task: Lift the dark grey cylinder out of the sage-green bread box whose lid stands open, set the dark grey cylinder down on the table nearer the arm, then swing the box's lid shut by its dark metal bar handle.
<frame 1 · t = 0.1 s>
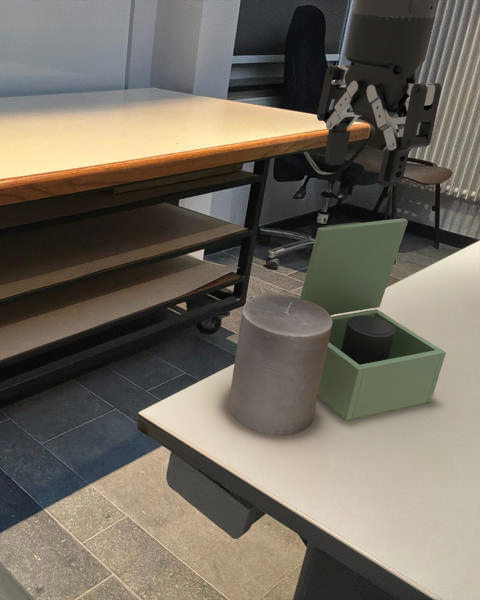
hand: (359, 174, 73), 28 cm above the table, tool pointing down, fingers open, 8 cm apart
pillar candle: (268, 417, 80), on the table
dark grey cylinder: (356, 385, 85), point 1 cm above the table, touching bread box
lid: (341, 263, 85), point 15 cm above the table, hinge at 85.0°
bread box: (355, 390, 85), on the table
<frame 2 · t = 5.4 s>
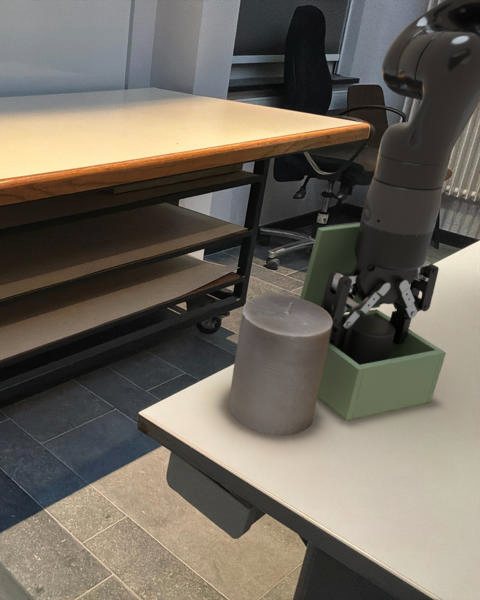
hand: (366, 346, 82), 7 cm above the table, tool pointing down, fingers open, 8 cm apart
nothing on the table moved.
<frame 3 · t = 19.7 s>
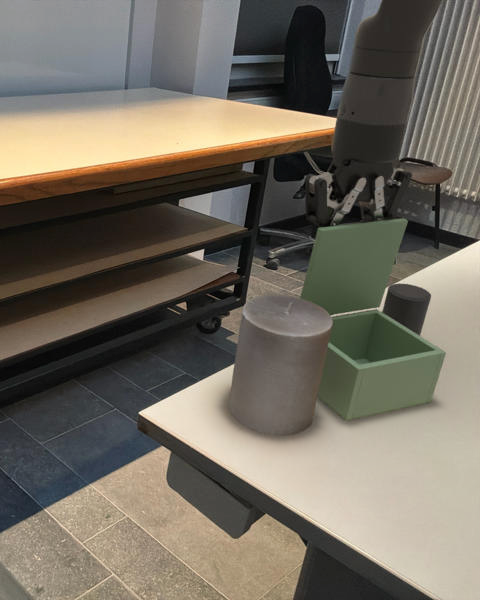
hand: (343, 252, 84), 16 cm above the table, tool pointing down, fingers closed on lid, 5 cm apart
dark grey cylinder: (395, 345, 96), on the table
lid: (341, 263, 85), point 15 cm above the table, hinge at 85.0°, touching gripper
everything else where it was.
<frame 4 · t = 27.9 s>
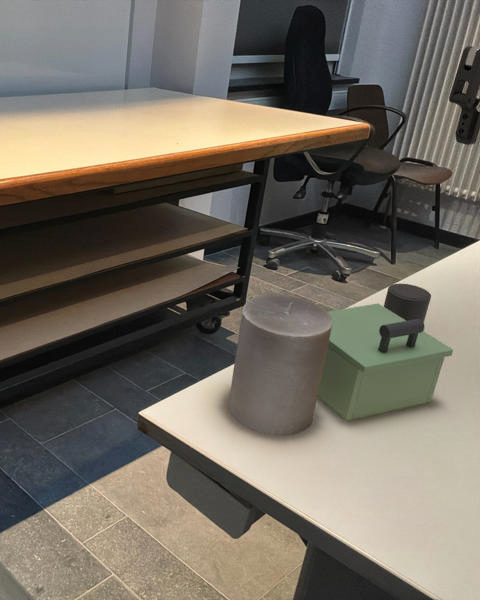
lid: (374, 322, 81), point 10 cm above the table, hinge at -0.2°, touching bread box
everything else where it was.
at the end: dark grey cylinder 0.1 cm from the target spot, on the table; dark grey cylinder tilted 0°; lid at +0° (first picture: +85°) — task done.
